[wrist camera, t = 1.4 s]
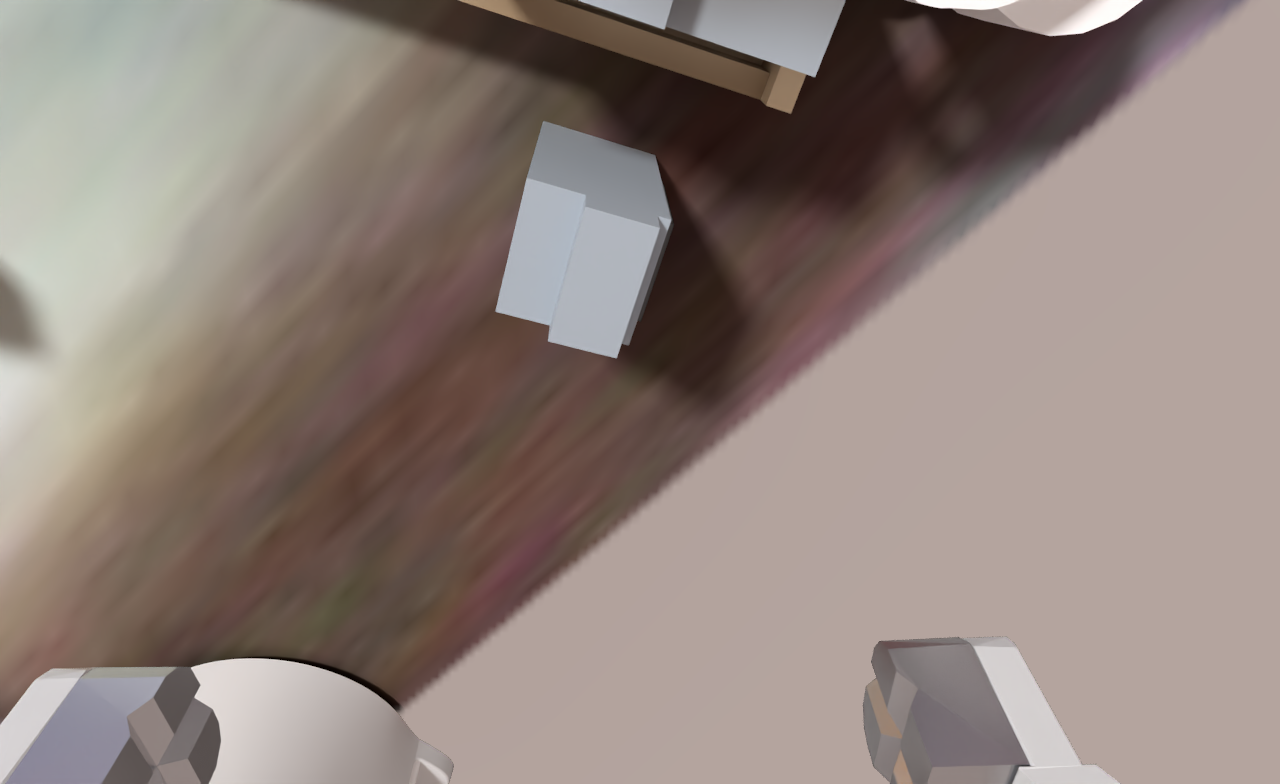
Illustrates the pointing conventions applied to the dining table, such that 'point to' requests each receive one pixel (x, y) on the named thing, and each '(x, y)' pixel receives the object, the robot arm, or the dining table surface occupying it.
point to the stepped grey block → (586, 240)
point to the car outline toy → (1040, 13)
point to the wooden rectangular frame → (699, 37)
